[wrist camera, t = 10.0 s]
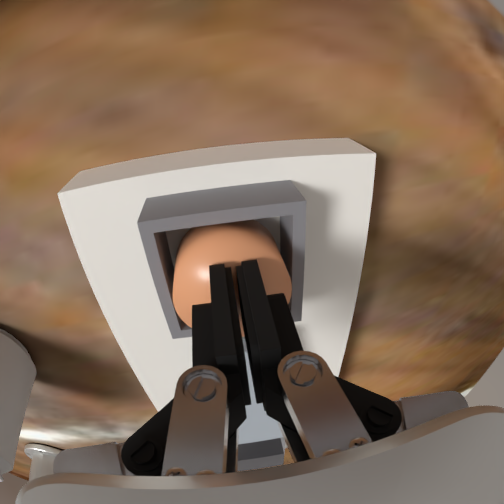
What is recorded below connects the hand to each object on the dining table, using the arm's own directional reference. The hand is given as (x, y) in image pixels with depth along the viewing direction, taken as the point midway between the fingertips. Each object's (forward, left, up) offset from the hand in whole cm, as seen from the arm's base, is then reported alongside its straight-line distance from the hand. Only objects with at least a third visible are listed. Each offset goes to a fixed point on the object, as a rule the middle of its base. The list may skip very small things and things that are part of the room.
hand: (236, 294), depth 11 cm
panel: (-11, 0, -6) cm, 13 cm away
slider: (-17, 0, -3) cm, 17 cm away
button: (0, 0, -2) cm, 2 cm away
